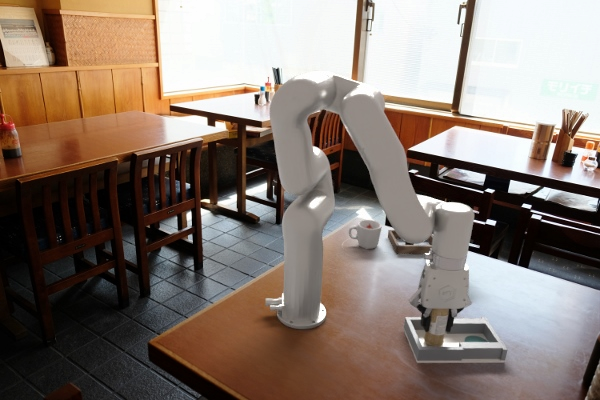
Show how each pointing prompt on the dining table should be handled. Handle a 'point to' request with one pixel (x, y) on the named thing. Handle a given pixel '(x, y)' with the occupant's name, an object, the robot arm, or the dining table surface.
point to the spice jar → (437, 327)
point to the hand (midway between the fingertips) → (435, 327)
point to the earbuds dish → (408, 248)
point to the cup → (367, 233)
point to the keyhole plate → (457, 342)
